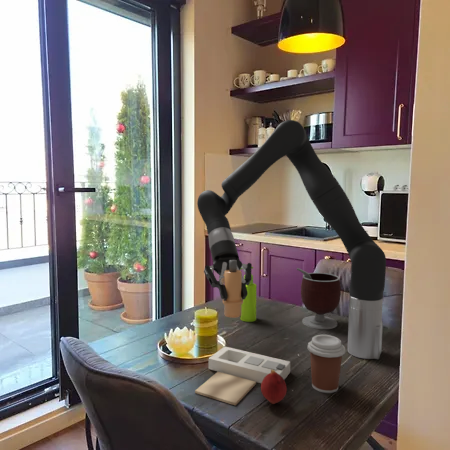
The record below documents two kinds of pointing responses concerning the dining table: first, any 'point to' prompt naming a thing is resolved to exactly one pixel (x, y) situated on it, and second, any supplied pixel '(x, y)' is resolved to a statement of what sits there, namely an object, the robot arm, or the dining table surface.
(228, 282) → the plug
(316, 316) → the mate gourd
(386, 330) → the dining table surface
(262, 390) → the onion
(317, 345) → the coffee cup
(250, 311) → the soap dispenser
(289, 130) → the robot arm
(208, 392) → the cork mat
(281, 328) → the dining table surface
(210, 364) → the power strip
